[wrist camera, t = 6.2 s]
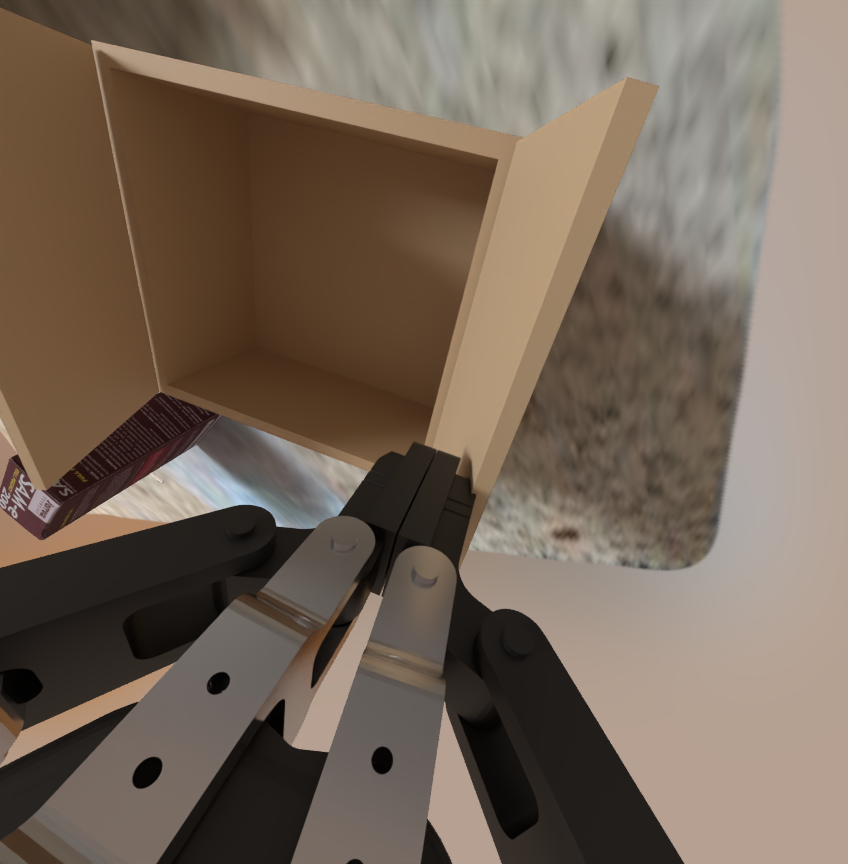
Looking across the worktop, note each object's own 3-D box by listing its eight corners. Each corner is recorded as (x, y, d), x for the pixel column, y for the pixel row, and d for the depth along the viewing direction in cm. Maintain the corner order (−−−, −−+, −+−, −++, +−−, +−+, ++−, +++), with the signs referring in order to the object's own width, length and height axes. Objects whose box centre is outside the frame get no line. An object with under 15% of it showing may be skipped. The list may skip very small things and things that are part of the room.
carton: (245, 97, 25) (90, 39, 17) (538, 166, 22) (526, 138, 14) (254, 349, 35) (159, 391, 27) (460, 420, 32) (425, 492, 24)
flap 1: (91, 45, 17) (78, 41, 17) (-214, -81, 9) (-240, -88, 9) (159, 391, 26) (151, 390, 26) (46, 490, 18) (34, 489, 18)
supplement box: (193, 374, 39) (5, 455, 26) (228, 409, 40) (64, 506, 27) (163, 415, 43) (-9, 503, 30) (195, 446, 44) (41, 544, 31)
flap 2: (627, 77, 6) (659, 86, 6) (517, 141, 14) (530, 145, 14) (407, 664, 15) (419, 666, 15) (420, 492, 23) (428, 494, 23)
